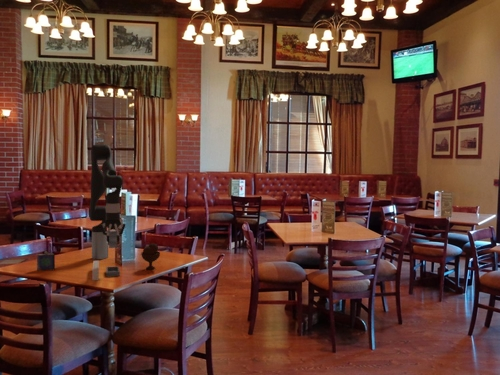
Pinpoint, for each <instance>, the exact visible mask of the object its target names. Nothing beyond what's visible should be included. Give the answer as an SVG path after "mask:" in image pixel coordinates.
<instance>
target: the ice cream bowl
mask: <svg viewBox="0 0 500 375" xmlns="http://www.w3.org/2000/svg"><path fill="white" fill-rule="evenodd" d="M158 250H159V246H158V244H156V243H150V244H149V245H148V246H145V247H144V248H143V249H142V252H141V253H140V255H141V257H142V259H143V260H144V261H145V262H148V266H147V267H146V268H145V270H147V271H154V270H156V267H155V266H153V263H154V262H156V261H157V260H158V259H159V258H160V256H161V252H160V251H158Z"/></svg>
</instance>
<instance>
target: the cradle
mask: <svg viewBox="0 0 500 375" xmlns="http://www.w3.org/2000/svg"><path fill="white" fill-rule="evenodd" d="M105 268H106V277H107V278H109V277H120V273H121V272H120V266H106V267H105Z"/></svg>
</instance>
